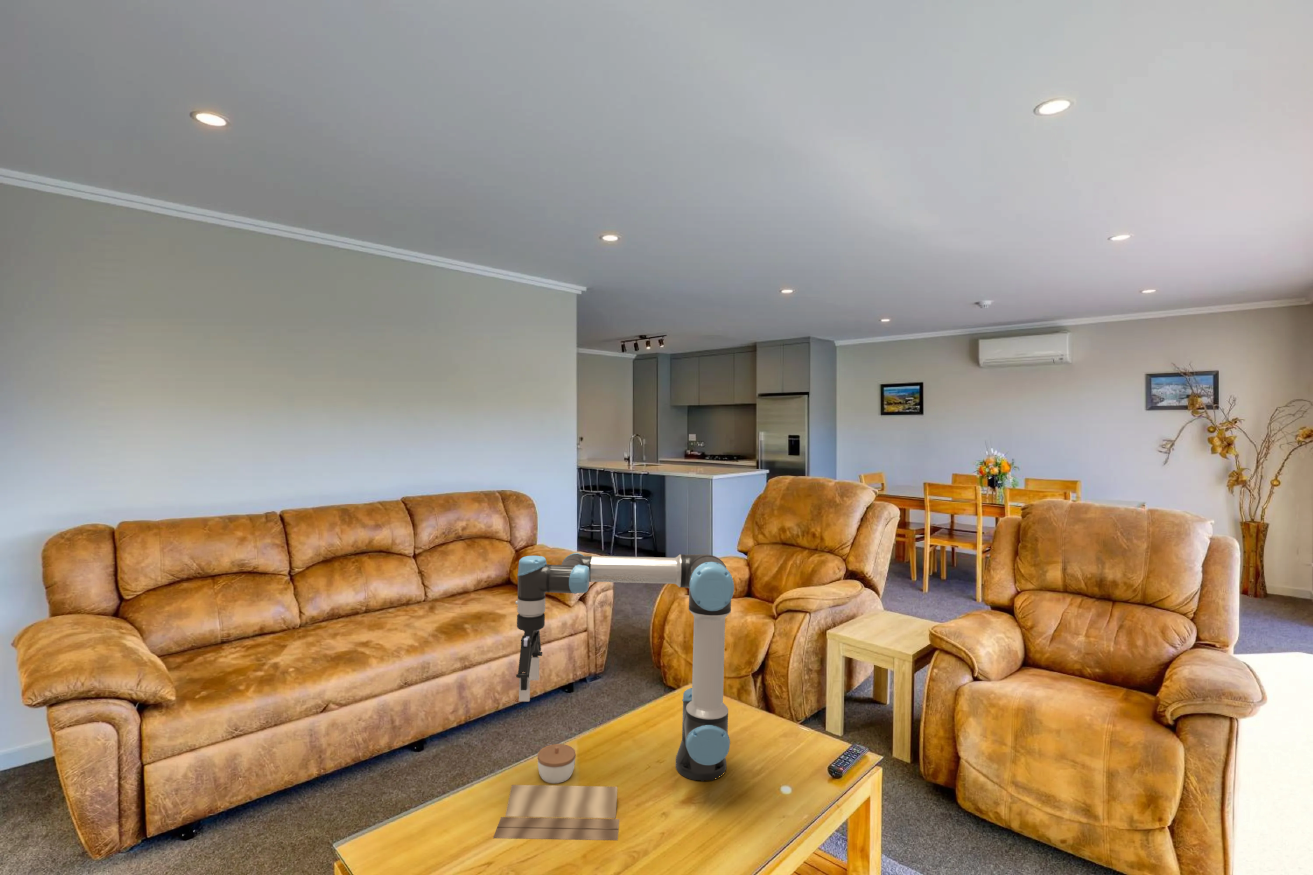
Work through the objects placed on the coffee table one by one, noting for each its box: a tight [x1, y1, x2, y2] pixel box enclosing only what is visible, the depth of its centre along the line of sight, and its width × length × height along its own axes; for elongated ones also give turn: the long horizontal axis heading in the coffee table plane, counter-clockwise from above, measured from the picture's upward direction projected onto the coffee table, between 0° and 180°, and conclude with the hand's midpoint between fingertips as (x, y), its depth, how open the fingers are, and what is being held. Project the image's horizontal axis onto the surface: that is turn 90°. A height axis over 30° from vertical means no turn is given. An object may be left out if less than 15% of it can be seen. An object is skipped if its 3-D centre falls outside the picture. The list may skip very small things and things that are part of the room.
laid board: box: [492, 816, 620, 841], centre depth 151 cm, size 30×8×2 cm, turn 91°
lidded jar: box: [537, 743, 577, 784], centre depth 174 cm, size 11×11×9 cm
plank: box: [504, 784, 618, 819], centre depth 159 cm, size 28×8×2 cm
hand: (529, 689), depth 169 cm, fingers open, 13 cm apart
